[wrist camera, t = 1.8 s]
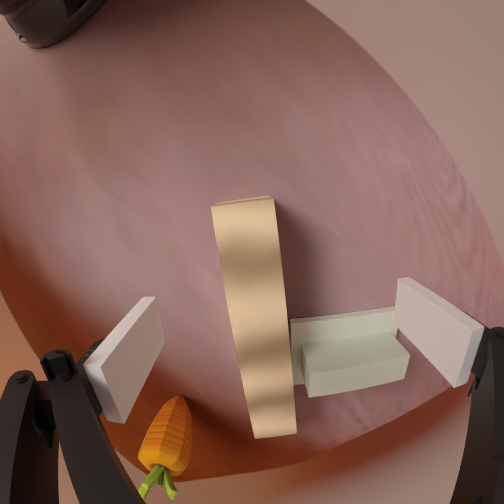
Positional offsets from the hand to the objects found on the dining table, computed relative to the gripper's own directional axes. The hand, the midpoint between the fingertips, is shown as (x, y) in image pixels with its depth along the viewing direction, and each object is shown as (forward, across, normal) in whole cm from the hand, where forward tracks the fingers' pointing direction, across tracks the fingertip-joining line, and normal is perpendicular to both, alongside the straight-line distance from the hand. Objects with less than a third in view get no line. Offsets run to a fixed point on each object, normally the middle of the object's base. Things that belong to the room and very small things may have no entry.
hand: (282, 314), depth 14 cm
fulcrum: (+12, +8, -10) cm, 18 cm away
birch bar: (+13, -1, -6) cm, 14 cm away
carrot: (+13, -11, -16) cm, 24 cm away
